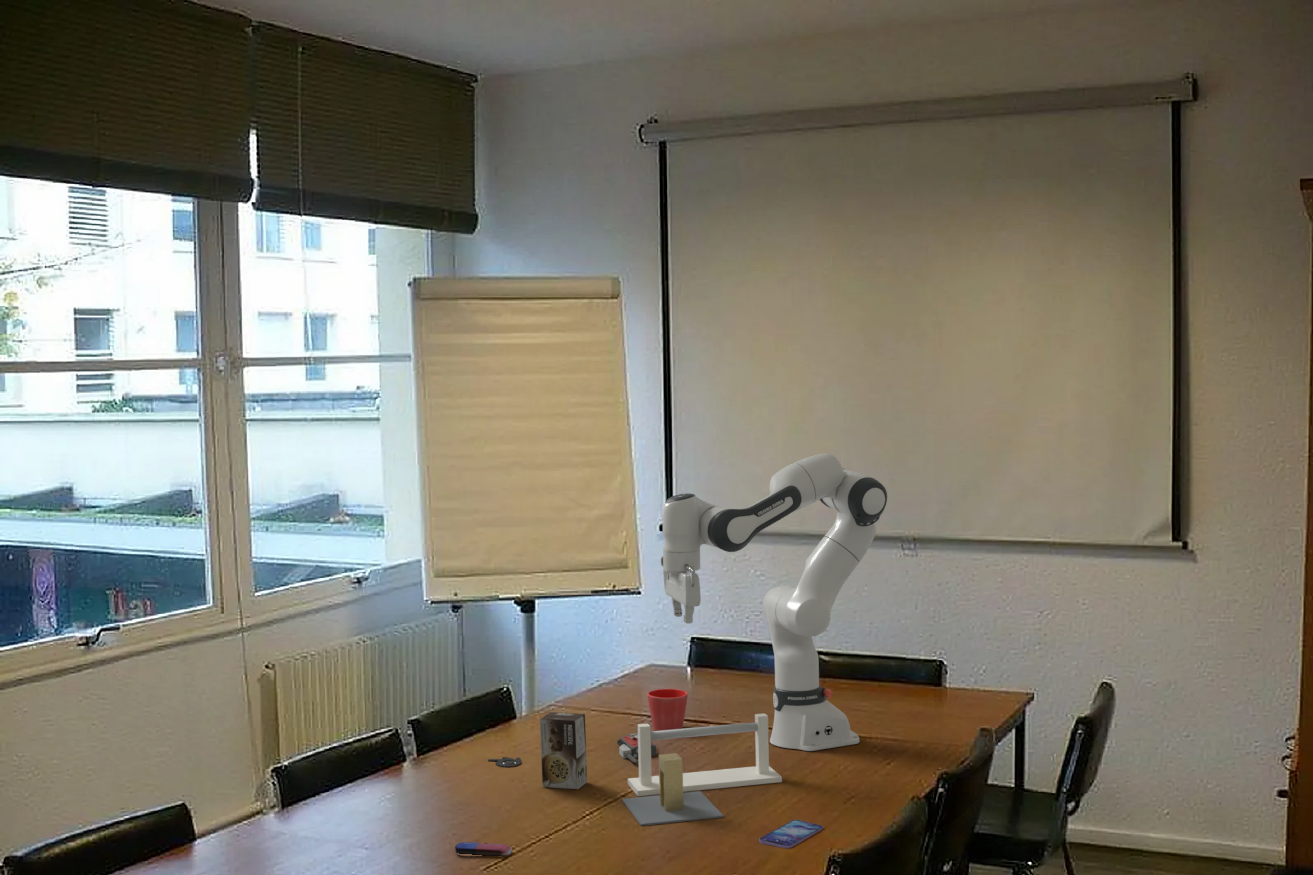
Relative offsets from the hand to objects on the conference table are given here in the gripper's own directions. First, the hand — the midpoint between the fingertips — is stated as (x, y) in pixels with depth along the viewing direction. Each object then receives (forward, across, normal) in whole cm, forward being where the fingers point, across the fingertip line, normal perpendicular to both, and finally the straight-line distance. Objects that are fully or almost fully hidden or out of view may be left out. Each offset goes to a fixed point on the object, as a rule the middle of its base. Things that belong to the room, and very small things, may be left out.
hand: (683, 619), depth 341 cm
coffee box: (+35, -7, +31) cm, 48 cm away
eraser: (+36, -47, +55) cm, 81 cm away
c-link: (+35, -32, +12) cm, 49 cm away
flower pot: (+35, +33, -4) cm, 49 cm away
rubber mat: (+35, -32, +12) cm, 49 cm away
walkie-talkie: (+36, +12, +9) cm, 39 cm away
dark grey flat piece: (+36, +18, +43) cm, 59 cm away
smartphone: (+36, -56, -7) cm, 67 cm away
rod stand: (+35, -16, 0) cm, 39 cm away
